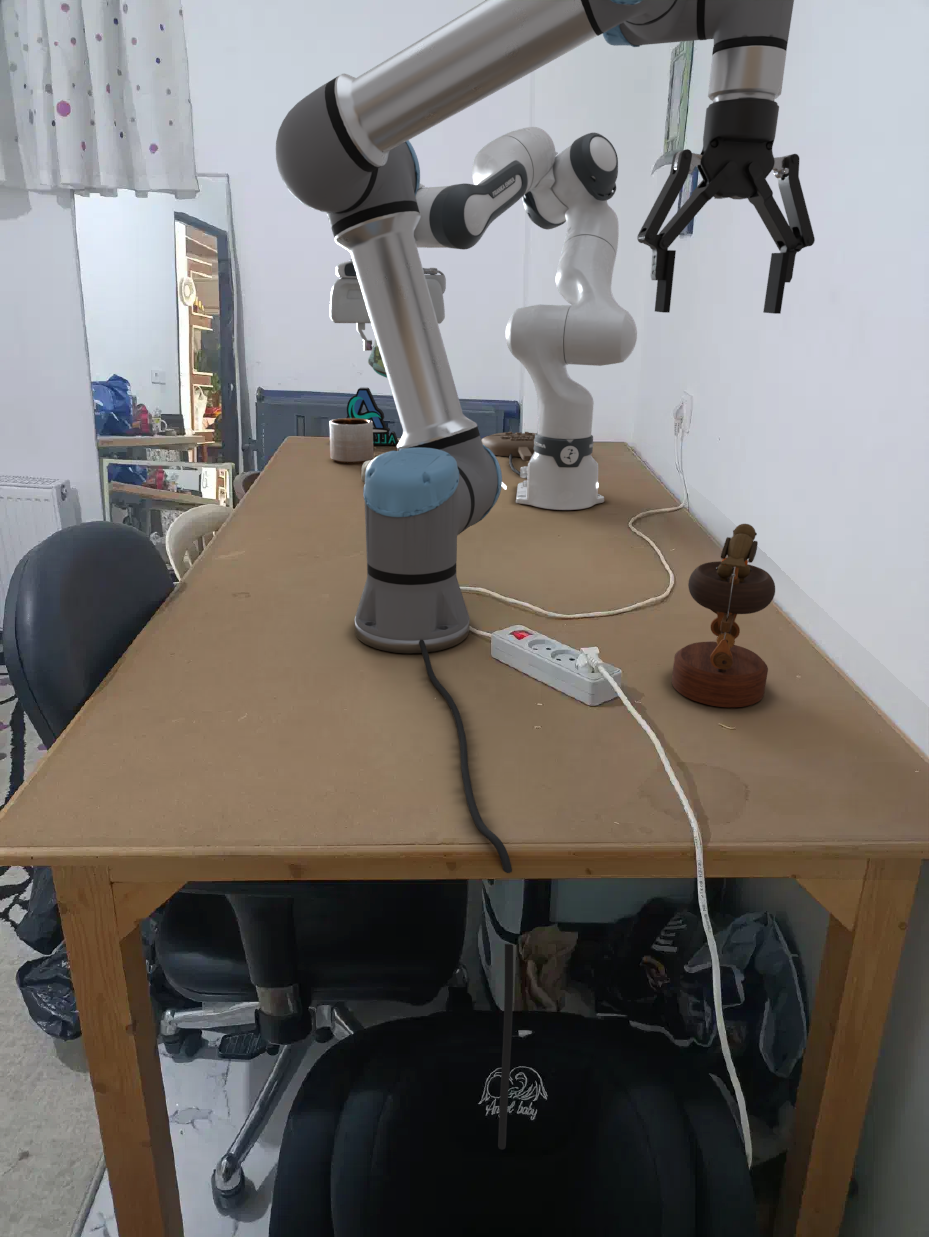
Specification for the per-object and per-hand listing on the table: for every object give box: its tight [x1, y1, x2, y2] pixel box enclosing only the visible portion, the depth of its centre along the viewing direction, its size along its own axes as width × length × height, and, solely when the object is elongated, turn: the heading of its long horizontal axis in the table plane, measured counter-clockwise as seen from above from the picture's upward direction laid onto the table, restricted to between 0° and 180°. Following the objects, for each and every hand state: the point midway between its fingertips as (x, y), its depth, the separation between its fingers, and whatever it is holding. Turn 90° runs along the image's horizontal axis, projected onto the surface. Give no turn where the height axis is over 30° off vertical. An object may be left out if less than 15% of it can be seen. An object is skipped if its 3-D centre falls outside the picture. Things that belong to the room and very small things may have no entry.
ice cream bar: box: [481, 431, 537, 462], centre depth 222 cm, size 21×28×4 cm
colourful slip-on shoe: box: [367, 336, 388, 379], centre depth 143 cm, size 8×24×9 cm, turn 8°
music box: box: [671, 523, 776, 708], centre depth 96 cm, size 15×11×20 cm
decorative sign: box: [329, 386, 400, 446], centre depth 231 cm, size 19×2×15 cm, turn 86°
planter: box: [328, 417, 375, 464], centre depth 212 cm, size 11×11×10 cm
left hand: (717, 313), depth 98 cm, fingers open, 13 cm apart
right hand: (388, 350), depth 152 cm, fingers closed on colourful slip-on shoe, 6 cm apart
